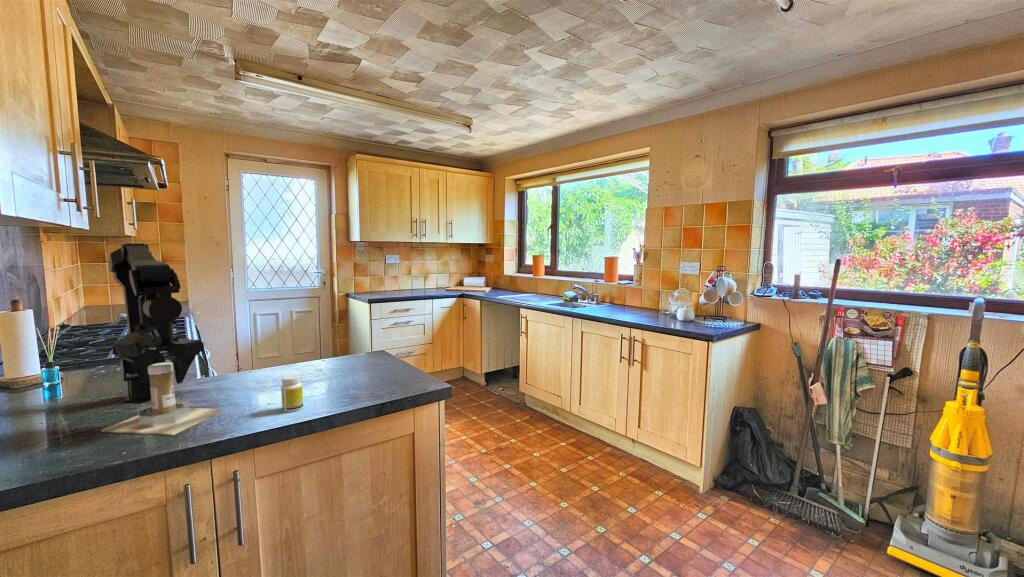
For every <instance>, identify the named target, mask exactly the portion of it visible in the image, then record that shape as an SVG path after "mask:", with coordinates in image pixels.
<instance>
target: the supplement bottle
mask: <svg viewBox="0 0 1024 577" xmlns="http://www.w3.org/2000/svg"><path fill="white" fill-rule="evenodd" d="M281 382H282V385H281V387H280V390H281V408H282V411H283V412H285V413H293V412H297V411H300V410H301V409H303V408H304V396H303V383H302V382H301V376H300V375H299V374H290V375H286V376H283V377H282V378H281Z"/></svg>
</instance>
